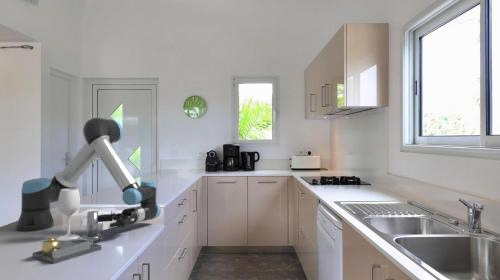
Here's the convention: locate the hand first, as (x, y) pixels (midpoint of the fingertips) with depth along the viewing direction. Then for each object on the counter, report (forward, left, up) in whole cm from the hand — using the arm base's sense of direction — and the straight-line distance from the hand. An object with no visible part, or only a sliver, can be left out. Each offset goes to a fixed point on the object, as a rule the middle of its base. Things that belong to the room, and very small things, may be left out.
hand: (91, 224), depth 133 cm
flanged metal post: (0, +1, -7) cm, 7 cm away
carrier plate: (+7, -14, -7) cm, 17 cm away
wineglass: (-12, -2, -7) cm, 14 cm away
